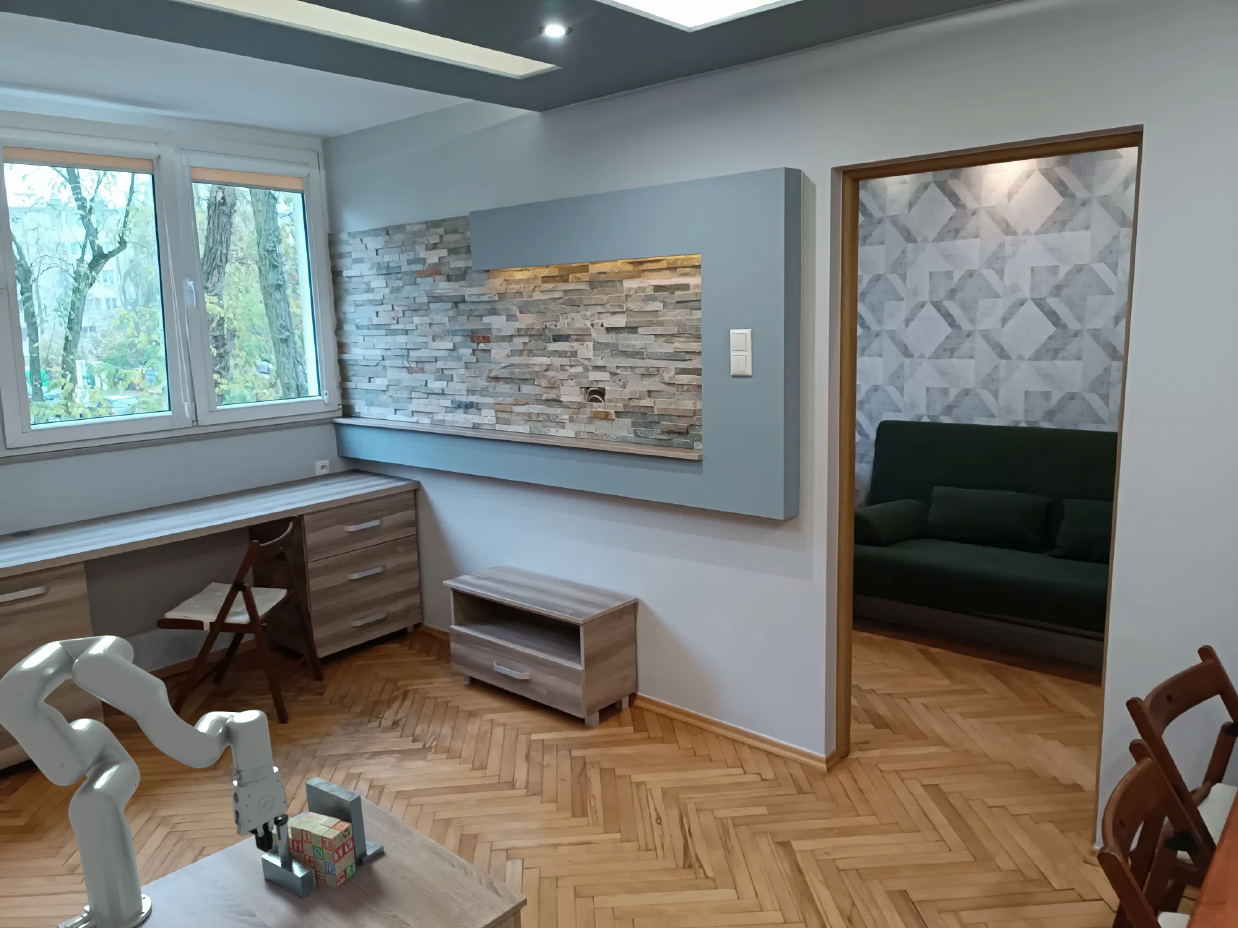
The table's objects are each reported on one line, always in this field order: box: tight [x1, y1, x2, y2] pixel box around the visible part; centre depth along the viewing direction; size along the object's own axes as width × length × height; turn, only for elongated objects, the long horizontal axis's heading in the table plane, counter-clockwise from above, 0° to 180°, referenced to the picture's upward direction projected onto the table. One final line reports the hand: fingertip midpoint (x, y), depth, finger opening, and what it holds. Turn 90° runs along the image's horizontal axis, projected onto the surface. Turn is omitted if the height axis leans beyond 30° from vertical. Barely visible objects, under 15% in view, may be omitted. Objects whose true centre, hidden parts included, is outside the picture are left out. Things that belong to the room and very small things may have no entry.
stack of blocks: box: [265, 811, 357, 889], centre depth 199 cm, size 21×6×12 cm, turn 64°
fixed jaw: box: [304, 776, 385, 867], centre depth 206 cm, size 8×18×16 cm, turn 55°
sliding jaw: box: [260, 813, 317, 899], centre depth 194 cm, size 4×14×16 cm, turn 55°
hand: (265, 848), depth 189 cm, fingers closed
